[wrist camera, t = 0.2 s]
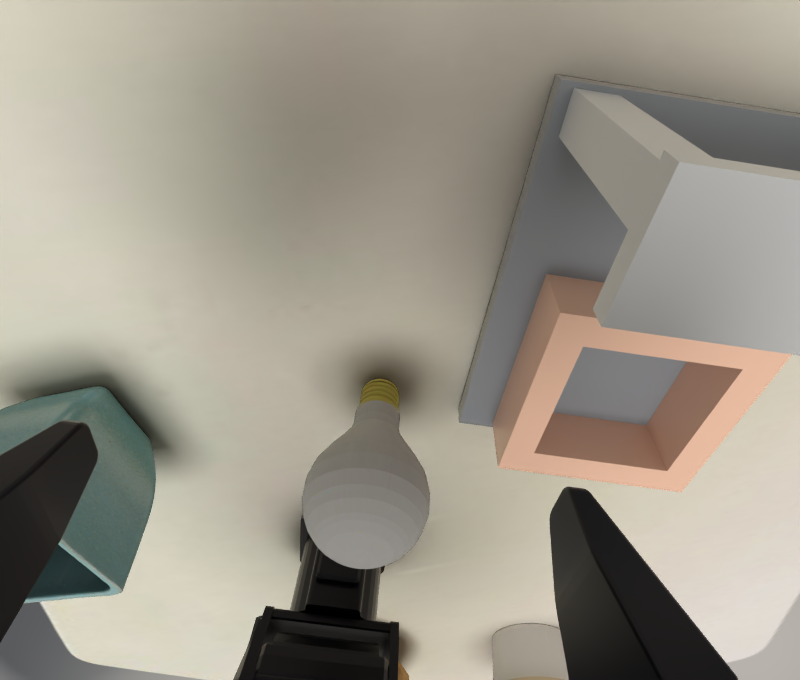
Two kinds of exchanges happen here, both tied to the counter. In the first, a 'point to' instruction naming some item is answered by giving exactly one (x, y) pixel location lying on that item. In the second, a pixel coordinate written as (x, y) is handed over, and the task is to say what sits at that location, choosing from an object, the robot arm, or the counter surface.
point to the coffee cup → (529, 653)
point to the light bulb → (367, 488)
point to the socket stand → (640, 285)
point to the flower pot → (92, 493)
